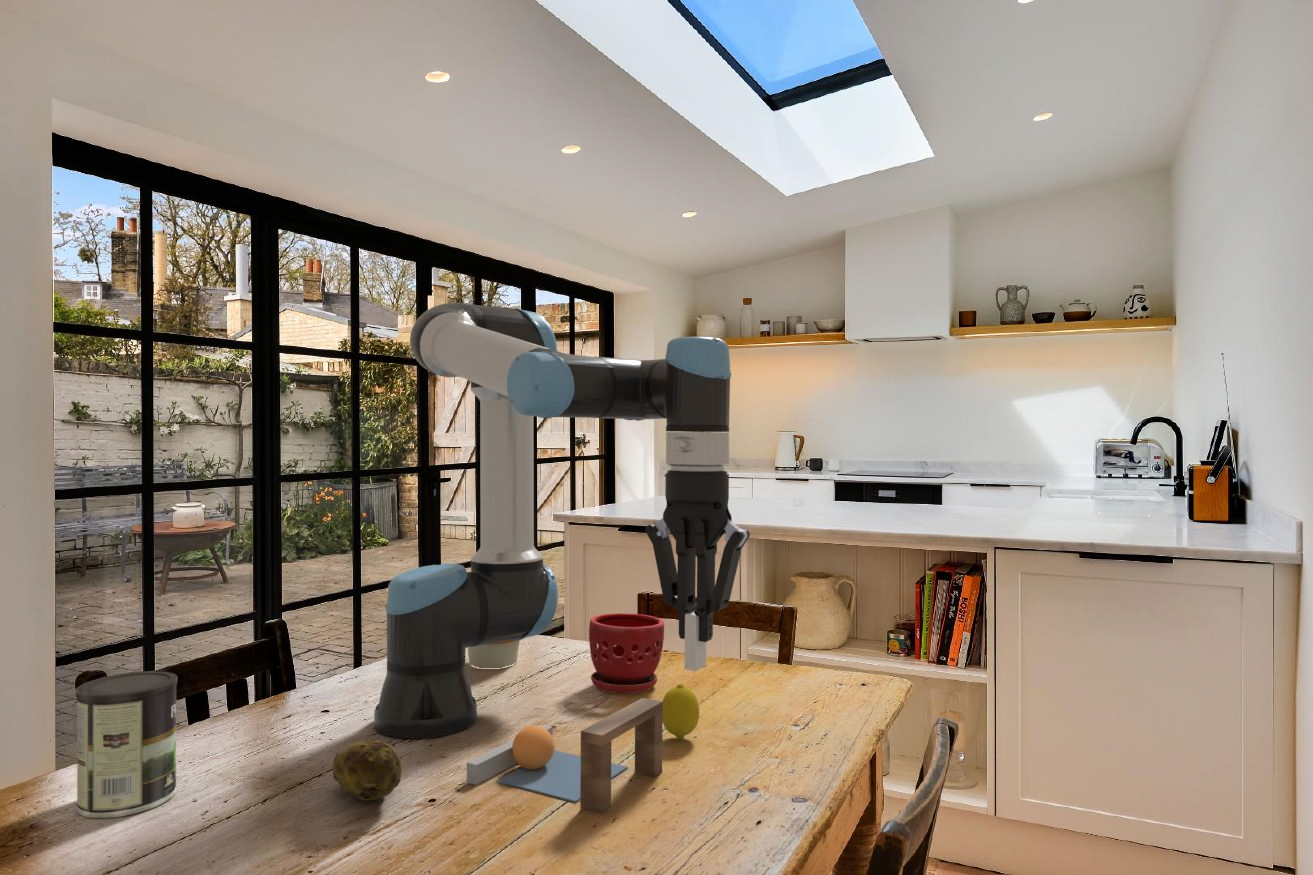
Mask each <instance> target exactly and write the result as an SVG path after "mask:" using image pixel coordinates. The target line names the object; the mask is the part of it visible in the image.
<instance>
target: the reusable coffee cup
mask: <svg viewBox="0 0 1313 875" xmlns="http://www.w3.org/2000/svg"><path fill="white" fill-rule="evenodd" d="M520 641H521V640H517V641H515V640H510V641H503V642H497V643H491V644H484V645H478V646H472V647H467V654H468V655H467V656H468V661H469V662H468V663H469V665H470V664H471V665H473V666H475V667H479V668H502V667H505V666H509V665H512V664H514V663H516V662H517V663H518V656H519V650H520V649H519V648H520V647H519V646H520ZM517 663H516V664H517Z"/></svg>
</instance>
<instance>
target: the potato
mask: <svg viewBox="0 0 1313 875" xmlns="http://www.w3.org/2000/svg"><path fill="white" fill-rule="evenodd" d="M331 770H332V776H333V778H334V780H335V781H336V782H337V783H338V784H339V786H340V787H341V789H343V791H344V792H346V793H348V794H349V795H351V796H352V797H354V798H356V799H359V800H361V801H375V800H376V801H380V800H382V799H383V798H385V797H387V796H389V794H391V793H392V792H393V790H394V789H395V788H396V787H398V785H399V784H400V783H401V780H402V779H401V778H402V774H403V763H402V761H401V758H400V756H399V754H398V752H397V751H396V750H395V748H394V747H393V746H392V745H391V744H389V743H388V742H387V741H379V740H372V739H366V740H360V741H356V742H355V743H354V744H352V745H351V746H349V747H347V748H346V749H344V750H343V751H341V752H339V753H337V754H336V756H335V757H334V759H333V763H332V768H331Z"/></svg>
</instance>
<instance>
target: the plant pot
mask: <svg viewBox="0 0 1313 875" xmlns="http://www.w3.org/2000/svg"><path fill="white" fill-rule="evenodd" d="M664 637H665V621H664V620H662V619H661V618H658V617H656V616H652V615H646V614H642V613H641V614H640V613H639V614H638V613H617V612H616V613H605V614H598V615H595V616H593V617H591V618H590V620H589V626H588V640H589V641H588V642H589V652H590V658H591V662H592V665H593V668H594V669H595V671H594V672H592V674H591V676H590V679H591V683H592V684H593V685H594V686H595V687H596V688H598V689H599V690H601V691H603V692H604V693H611V694H621V695H630V694H631V695H633V694H639V693H643V692H645V691H646V692H647V691H648V690H650V689H651V688H653V687H654V686H655V685H656V683H657V682H658V676H657V675H656V673H655V671H656V670H657V667H658V666H659V663H660V660H661V657H662V652H663V647H664V646H663V645H664Z"/></svg>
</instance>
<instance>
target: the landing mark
mask: <svg viewBox="0 0 1313 875" xmlns="http://www.w3.org/2000/svg"><path fill="white" fill-rule="evenodd" d="M627 769H629V767H628V766H626V765H621V764H616V763H613V762H611V780H612V779H614V778H615V777H616V776H619V775H620V774H621V773H623V772H624V771H626V770H627ZM580 780H581V755H577V754H573V753H569V752H565V751H561V750H556V749H554V753H553V756H552V758H551V759H550V761H549V762H548V763H547V764H546V765H545V766H543V767H542V768H539V769H535V770H529V769H525V768H523V767H521V766H520V767H519V768H518V769H515V770H514V771H513V772H510V773H509V774H507V775H505V776H503V777H501V778H499V779H498V780H497V783H499V784H502V785H503V784H504V785H507V786H512V787H515V788H517V789H518V788H519V789H523V790H526V791H530V792H533V793H536V794H537V793H538V794H542V795H546V796H549V797H553V798H557V799H561V800H565V801H568V802H572V803H575V804H576V803H577V802H579V801H580Z"/></svg>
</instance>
